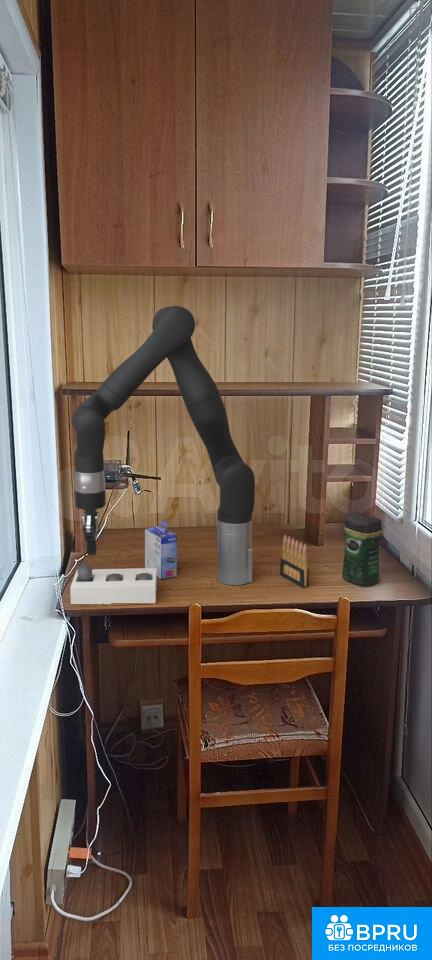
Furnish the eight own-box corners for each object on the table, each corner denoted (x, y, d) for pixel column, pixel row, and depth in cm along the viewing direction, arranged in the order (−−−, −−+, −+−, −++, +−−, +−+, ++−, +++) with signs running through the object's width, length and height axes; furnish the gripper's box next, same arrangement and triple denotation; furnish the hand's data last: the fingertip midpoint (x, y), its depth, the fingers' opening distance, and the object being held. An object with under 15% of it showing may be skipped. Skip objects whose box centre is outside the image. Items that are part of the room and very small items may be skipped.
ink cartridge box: (178, 576, 195) (177, 526, 191) (161, 580, 192) (159, 530, 188) (161, 565, 203) (160, 517, 199) (144, 569, 200) (143, 520, 196)
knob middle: (122, 587, 184) (122, 573, 183) (121, 593, 180) (121, 578, 179) (109, 588, 183) (108, 573, 182) (107, 593, 180) (107, 579, 179)
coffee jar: (384, 582, 190) (388, 516, 185) (364, 589, 185) (367, 522, 180) (357, 571, 197) (360, 508, 193) (337, 578, 193) (339, 513, 188)
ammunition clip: (308, 586, 187) (310, 544, 184) (303, 588, 186) (304, 545, 183) (285, 573, 196) (286, 532, 193) (279, 574, 195) (280, 533, 192)
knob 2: (151, 587, 184) (151, 572, 183) (151, 592, 181) (150, 578, 179) (137, 587, 184) (137, 573, 183) (137, 593, 180) (136, 578, 179)
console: (157, 585, 188) (156, 567, 187) (155, 604, 177) (155, 585, 176) (77, 587, 187) (76, 569, 186) (71, 606, 176) (70, 588, 175)
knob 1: (93, 579, 183) (92, 564, 182) (91, 584, 179) (91, 569, 178) (79, 579, 182) (78, 564, 181) (77, 584, 179) (76, 570, 178)
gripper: (102, 495, 168) (104, 563, 172) (107, 481, 181) (109, 545, 185) (70, 495, 168) (73, 563, 172) (78, 481, 180) (80, 545, 185)
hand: (91, 553), depth 179 cm, fingers closed
